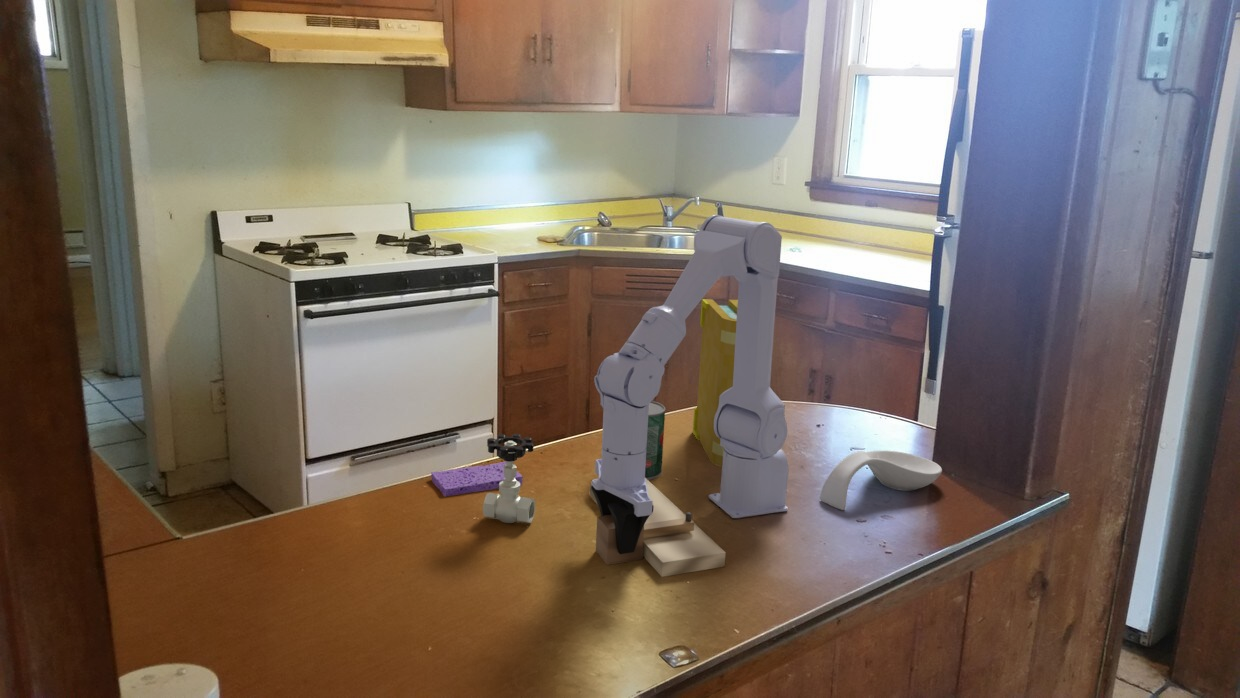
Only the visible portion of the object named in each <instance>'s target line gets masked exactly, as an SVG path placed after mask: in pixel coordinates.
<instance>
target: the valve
mask: <svg viewBox="0 0 1240 698" xmlns="http://www.w3.org/2000/svg"><path fill="white" fill-rule="evenodd" d="M496 437H497V438H496V439H495V438H493V437H489V438H488V439H487V443H486V446H487V452H488V453H489V454H494V453H495V450H496V455H497V457H498V458H499V459H502V460H503V462H506V465H504V466H503V475H504V477H506V478H504V479H503V481H501V482H500V483H499V488H498V492H499V493H500V494H499V493H496V492H487V493H486V495H485V498H484V500H483V504H482V513H483V517H484V518H489V519H496V520H499V521H500V522H502V523H506V524H512V523H516V522H520V523H524V524H525V523H526V524H527V523H528V524H532V522H533V519H534V517H535V513H536V501H535V499H534V498H532V497H527V496H526V497H523V496H520V495H519V493H520V492H521V485H520V482H518V481H516V479H515V478H514V476H516V472H517V466H516V464H515V463H514V462H515V461H517V460H518V459H521V458H523V457H524V456H525V455H526V453H527V452H528V453H532V452H534V443H533V438H532V437H530V436H529V437H524V438H521V434H519V433H514V434H512V435H511V436H506V435H505V434H503V433H499V434H497V436H496ZM502 444H503V445H502ZM517 444H519V445H518V446H517Z"/></svg>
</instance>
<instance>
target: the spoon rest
mask: <svg viewBox="0 0 1240 698" xmlns="http://www.w3.org/2000/svg"><path fill="white" fill-rule="evenodd" d="M865 466H868V468H869V470H870V471H871V472H872V474H873V476H874V477H875V478H876V479H878V480H879V482H880V483H881V484H882V485H883V486H885V487H887V488H890V489H893V490H898V491H909V492H910V491H916V490H918V489H922V488H925V487H926V486H929V485H930V484H933V482H935V481H936V480H937V479H939V477H940V475H941V474H942V472H943V469H942V467H941V466H940V465H939V464H938V463H936V462H934V461H933V460H930V459H928V458H926V457H922V456H919V455H915V454H912V453H907V452H902V451H895V450H872V451H862V450H861V451H856V452H853V453H851V454H849V455H847V456H845V457H844V458H843V459H842V460H840V462H838V464H837V465H836V466H835V467H834V468H833V469H832V470H831V472H830V473H829V475H828V476H827V478H826V480H825V481H824V484H823V485H822V489H821V491H820V495H819V500H820V501H821V502H822V503H825V504H827V505H829V506H831V507H833V508H835V509H838V510H841V511H844V510H846V506H847V496H848V490H849V485H850V482H851V480H852V479H853V477H854V476H855V474H856V473H857V472H858V471H859V470H860V469H862V468H863V467H865Z"/></svg>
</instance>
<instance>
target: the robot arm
mask: <svg viewBox="0 0 1240 698" xmlns="http://www.w3.org/2000/svg"><path fill="white" fill-rule="evenodd" d="M782 238H783V236H782V234H781V233H780V232H779V231H778V230H777V228H775V226H774V225H773V224H772V223H770V222H766V221H760V222H759V221H753V220H747V219H746V220H745V219H740V218H733V217H726V216H723V215H720V214H713V215H711V216H708V217H707V218H706V219H705V220H704V221H703V223H702V225H701V227H700V229H699V230H698V231H697V232H696V234H694V238H693V250H694V251H693V254H692V255H691V258H690V259H689V260H688V263H687V264H686V266H685V268H684V269H683V271H682V272H681V274H680V276H679V277H678V279H677V281H676V283H675V285H673V288H672V290H670V293H669V294H668V296H667V298H666V299H665V301H664V303H663V304H662V305H659V306H653V307H651V308H649V309H648V311H645V313H644V315H643V316H642V317H641V320H640V322H639V323H638V324H637V326H636V327H635V329H634V330H633V332H632V333H630V336H629V337H628V338H627V340H626V342H625V343H624V344H623V346H621V348H620V349H619V351H618V352H615V353H613V354H612V355H609V356H607V357H605V358H604V360H602V361H601V363H600V365H599V367H598V370H597V373H596V375H595V376H594V379H593V380H594V381H593V382H594V385H595V388H596V390H597V391H598V393H599V396H600V406H601V408H602V409H603V411H602V412H603V414H602V415H603V416H602V418H603V419H602V434H601V435H602V437H601V458H600V459H599V458H598V459H595V461H594V462H595V466H594V473H595V474H596V476H598V478H595V479H592V480H591V483H592V486H591V490H592V492H593V493H594V496H595V498H596V500H597V503H598V505H597V506H598V509H599V510H598V511H599V514H600V516H604V515H612V517H613V520H614V525H615V532H616V545H617V550H618V552H619V554H625V553H632V552H634V551H635V548H636V545H637V542H638V539H639V536H640V533H641V530H642V528H643V526H644V524H645V522H646V520H647V519H648V517H649V516H650V515H652V512H653V509H654V506H653V504H652V502H653V501H652V500H651V499H650V497H649V494H648V488H647V482H646V478H645V466H646V448H647V430H648V412H649V403H650V402H651V401H654V399H655V398H656V397H658V394H659V393H660V389H661V386H662V377H663V375H664V374H665V371H666V368H665V366H666V364H667V362H668V361H669V359H670V358H671V357H672V355H673V354H674V352H675V351H676V349H677V348H678V347H679V346H680V344H681V343H682V341H683V339H684V338H685V337H686V335H687V326H686V325H687V324H686V319H687V318H688V317H689V316H690V314H691V313H692V312H693V311H694V309H695V308H696V307H697V306H698V304H699V303H700V302H702V299H704V297H706V294H707V293H709V291H710V290H711V288H713V286H714V285H715V284H716V282H717V281H718V280H719V279H720V278H725V277H731V276H733V278H734V279H735V280H736V281H737V282H738V292H737V293H738V295H737V300H738V306H737V323H736V340H735V356H734V373H733V387H731V388H730V389H728V390H726V391H725V392H723V393H722V394H721V395H720V396H719V406H718V409H717V412H716V414H715V417H714V432H715V434H716V436H717V437H718V438H720V446H722V447H724V452H723V464H722V467H721V479H720V480H721V481H720V490H719V492H717V493H710V494H709V495H708V499H709V500H711V501H712V502H713V503H714V504H716V505H717V506H718V507H720V509H721V510H722V511H724V512H725V513H726V514H727V515H728V516H730V517H731V518H732V519H741V518H746V517H748V518H749V517H753V516H761V515H767V514H775V513H781V512H787V511H788V509H789V507H788V506H787V505H786V501H787V491H788V490H787V489H788V482H789V470H790V469H789V461H788V457H787V455H786V452H785V451H784V450H783V449H782V448H783V447H784V444H785V442H786V440H787V437H788V436H787V435H788V424H787V419H786V417H785V416H786V415H785V414H786V413H785V411H786V410H785V409H786V405H785V404H784V402H783V401H782V399H780V398H779V396H778V394H776V393H775V392H774V391H773V389H772V387H771V377H772V363H773V352H774V351H773V350H774V333H775V319H776V307H777V295H778V294H777V293H778V292H777V291H778V278H779V277H780V267H781V254H782V240H783V239H782ZM597 503H596V504H597Z"/></svg>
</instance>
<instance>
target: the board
mask: <svg viewBox="0 0 1240 698" xmlns="http://www.w3.org/2000/svg"><path fill="white" fill-rule="evenodd" d="M646 482H647V488H648V494H649V497H650V499H651V500H652V501H653V502H652V504H653V506H654V509H653V512H652V515H650V516H649V517H648V519H647V520H646V522H645V524H647V523H654V522H661V521H668V520H675V519H682V518H686V513H684V512H683V511H682V510H680V508H679V507H678V506H676V505H675V504H674V503H673V502H672V501H671V500H670V499H669V498H668V497H666V495H665V494H663V493H662V491H660V490H659V489H658V488H657V487H656V486H655V485H654V484H652V482H650V481H649V480H647V479H646ZM591 486H592V482H591V483H589V497H590V498H591V499H592V500H593V501H594V503H596V505H597V506H598V503H597V500H596V498H595V496H594V493H593V492H592V490H591ZM642 557H644V559H645V560H646V561H647V562H648V563H649V565H650V566H651V567H652V568H653V569H654V570H655V571H656V572H657V573H658V575H659V576H660V577H661V578H663V577H664V578H665V577H670V576H675V575H676V576H677V575H680V574H688V573H693V572H700V571H705V570H711V569H719V568H723V567H725V564H726V561H725V560H726V551H725V550H723V549H722V547H720V546H719V544H718V543H716V542H715V541H714V540H713V539H712V538H711V537H710V536H709V535H707V534H706V533H705V532H704V530H702V529H701V528H700V527H699V526H698V525H697V524H696V523H694V531H688V532H681V533H674V534H668V535H661V536H654V537H647V538H643V554H642Z"/></svg>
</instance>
